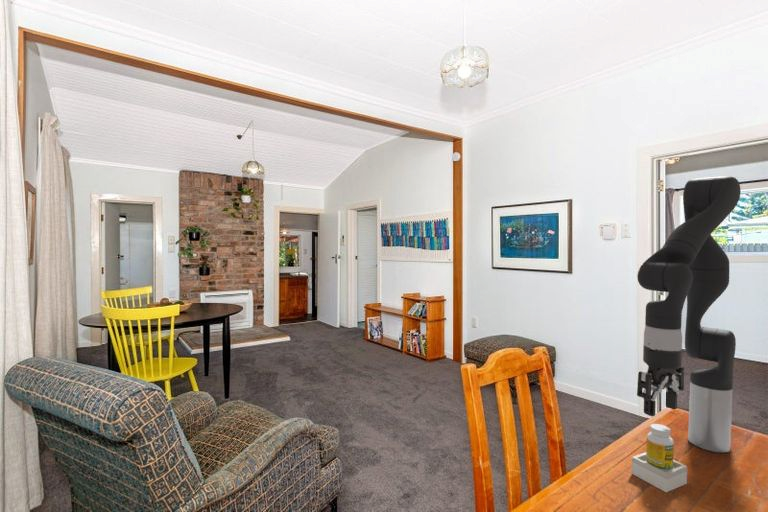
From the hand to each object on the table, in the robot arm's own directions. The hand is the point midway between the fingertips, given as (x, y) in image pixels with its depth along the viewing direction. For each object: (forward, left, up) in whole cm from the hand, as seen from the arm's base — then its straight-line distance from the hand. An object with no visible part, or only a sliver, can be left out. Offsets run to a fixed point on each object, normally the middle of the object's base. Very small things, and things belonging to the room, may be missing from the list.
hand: (660, 411), depth 94 cm
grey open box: (0, 0, -17) cm, 17 cm away
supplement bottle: (0, 0, -14) cm, 14 cm away
